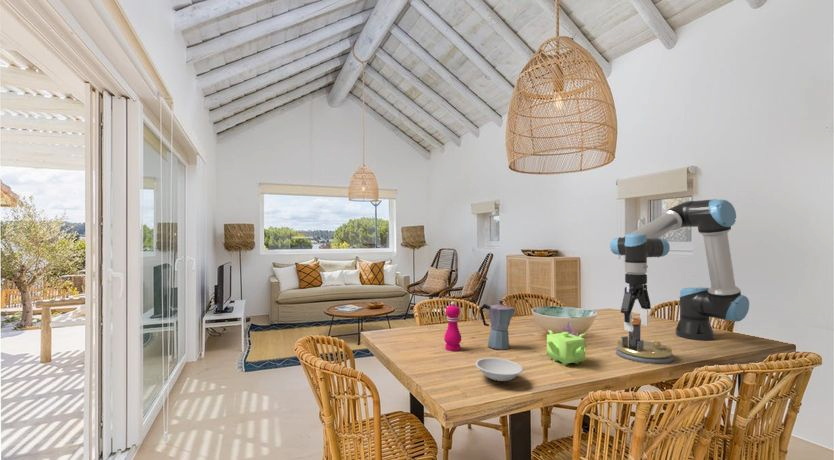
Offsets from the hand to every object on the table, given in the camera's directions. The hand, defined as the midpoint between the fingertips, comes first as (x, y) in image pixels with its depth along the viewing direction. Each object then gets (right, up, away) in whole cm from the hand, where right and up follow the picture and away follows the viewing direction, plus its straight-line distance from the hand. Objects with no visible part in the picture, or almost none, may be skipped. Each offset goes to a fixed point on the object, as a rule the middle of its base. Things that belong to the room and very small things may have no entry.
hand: (636, 328), depth 159 cm
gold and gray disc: (+5, -11, +4) cm, 12 cm away
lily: (-19, -12, +18) cm, 29 cm away
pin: (-1, -8, 0) cm, 8 cm away
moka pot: (-51, -12, +16) cm, 55 cm away
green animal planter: (-28, -12, -3) cm, 31 cm away
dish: (-58, -12, -23) cm, 64 cm away
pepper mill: (-70, -12, +13) cm, 73 cm away
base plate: (+5, -12, +4) cm, 14 cm away
